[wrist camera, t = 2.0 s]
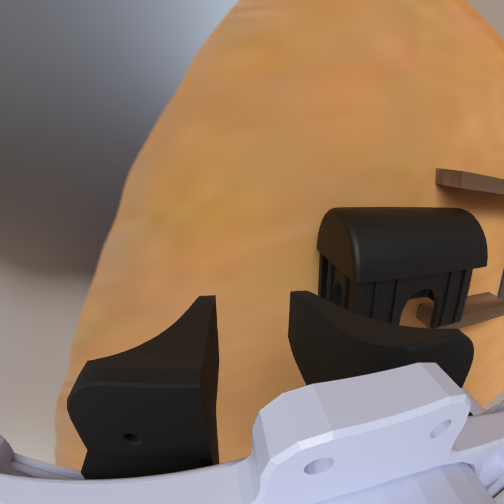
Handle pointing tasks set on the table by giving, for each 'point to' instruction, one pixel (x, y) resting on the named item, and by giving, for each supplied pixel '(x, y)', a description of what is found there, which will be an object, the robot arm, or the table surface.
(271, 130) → the table surface
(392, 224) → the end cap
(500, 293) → the tray
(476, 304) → the channel walls
